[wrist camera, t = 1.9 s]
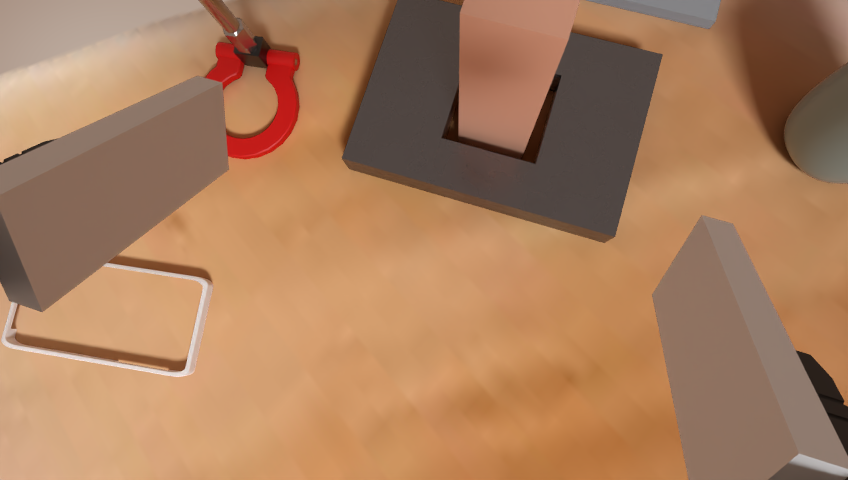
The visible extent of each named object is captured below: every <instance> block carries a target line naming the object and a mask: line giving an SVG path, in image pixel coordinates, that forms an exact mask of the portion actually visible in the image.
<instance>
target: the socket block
mask: <svg viewBox="0 0 848 480" xmlns="http://www.w3.org/2000/svg"><path fill="white" fill-rule="evenodd" d="M461 8H462V6H461V5H457V4H453V3H449V2H445V1H440V0H398V1H397V4H396V6H395V9H394V12H393V15H392V18H391V21H390V23H389V26H388V29H387V32H386V35H385V38H384V40H383V43H382V46H381V49H380V52H379V55H378V57H377V60H376V63H375V66H374V69H373V72H372V74H371V77H370V80H369V83H368V86H367V89H366V91H365V94H364V97H363V100H362V103H361V106H360V108H359V111H358V114H357V117H356V120H355V123H354V125H353V128H352V131H351V134H350V137H349V140H348V142H347V145H346V148H345V151H344V154H343V156H342V159H343V161H344V162H345V164H346V165H347V166H348V168H349V169H351V170H355V171H358V172H361V173H365V174H368V175H372V176H375V177H379V178H382V179H386V180H389V181H392V182H396V183H399V184H403V185H406V186H410V187H413V188H417V189H420V190H424V191H427V192H430V193H434V194H437V195H441V196H444V197H448V198H451V199H455V200H458V201H461V202H465V203H468V204H472V205H475V206H479V207H482V208H486V209H489V210H492V211H496V212H499V213H503V214H506V215H510V216H513V217H517V218H520V219H524V220H527V221H530V222H534V223H537V224H541V225H544V226H548V227H551V228H555V229H558V230H561V231H565V232H568V233H572V234H575V235H579V236H582V237H586V238H589V239H593V240H596V241H599V242H603V243H605V242H607V241H608V240H610V239H612V238H614V237H615V235H616V231H617V227H618V223H619V219H620V216H621V212H622V208H623V204H624V200H625V197H626V193H627V189H628V185H629V181H630V177H631V174H632V170H633V166H634V162H635V158H636V154H637V151H638V147H639V143H640V139H641V135H642V131H643V128H644V124H645V120H646V116H647V112H648V108H649V105H650V101H651V97H652V93H653V89H654V86H655V82H656V78H657V74H658V70H659V66H660V63H661V59H662V55H663V54H658V53H654V52H650V51H646V50H642V49H638V48H634V47H630V46H626V45H621V44H617V43H613V42H609V41H605V40H601V39H597V38H593V37H589V36H584V35H580V34H576V33H572V32H571V33H570V36H569V40H568V42H567V45H566V47H565V50H564V52H563V55H562V57H561V60H560V62H559V65H558V67H557V70H556V72H555V75H554V78H553V80H552V83H551V85H550V88H549V90H551V91H555V93H554V96H553V99H552V103H551V106H550V110H549V113H548V116H547V120H546V123H545V127H544V130H543V134H542V137H541V140H540V144H539V147H538V151H537V154H536V157H535V161H534V163H530V162H527V161H523V160H519V159H516V158H512V157H508V156H505V155H501V154H498V153H494V152H490V151H487V150H483V149H479V148H476V147H472V146H469V145H465V144H461V143H458V142H454V141H450V140H447V139H446V137H447V134H448V131H449V128H450V124H451V121H452V118H453V115H454V112H455V109H456V106H457V103H458V100H459V44H460V11H461Z"/></svg>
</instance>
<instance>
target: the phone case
mask: <svg viewBox="0 0 848 480" xmlns="http://www.w3.org/2000/svg"><path fill="white" fill-rule="evenodd" d="M103 266H106V267H113V268H119V269H126V270H132V271H139V272H145V273H152V274H158V275H164V276H171V277H177V278H184V279H190V280H195V281H197V282H199V283H201V284H202V286H203V291H202V295H201V300H200V304H199V309H198V313H197V318H196V322H195V327H194V331H193V336H192V340H191V345H190V349H189V354H188V358H187V363H186V367H185V369H184V370H183V371H175V370H162V369H156V368H151V367H145V366H139V365H133V364H127V363H122V362H118V361H117V360H111V359H105V358H99V357H94V356H88V355H82V354H76V353H70V352H65V351H59V350H53V349H47V348H41V347H36V346H30V345H24V344H21V343H19V342H18V341H17V340H16V339H15V334H16V331H17V329H11V326H12V322H13V319H14V315H15V312H16V308H17V303H14V302H12V303H11V307H10V311H9V314H8V318H7V321H6V325H5V328H4V332H3V335H2V339H1V341H2V343H3V344H4V345H5V346H7V347H9V348H12V349H18V350H24V351H30V352H35V353H41V354H47V355H53V356H58V357H64V358H70V359H76V360H81V361H87V362H93V363H99V364H104V365H110V366H116V367H122V368H127V369H133V370H139V371H145V372H150V373H156V374H162V375H168V376H173V377H181V376H186V375H190V374H192V373H193V372H194V371H195V367H196V362H197V358H198V353H199V349H200V344H201V340H202V335H203V331H204V326H205V322H206V317H207V313H208V308H209V303H210V299H211V294H212V290H213V283H212V282H211V281H210V280H208V279H206V278H202V277H196V276H190V275H183V274H177V273H170V272H164V271H157V270H151V269H144V268H138V267H131V266H125V265H118V264H112V263H106V264H105V265H103Z"/></svg>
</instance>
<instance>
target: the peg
mask: <svg viewBox="0 0 848 480" xmlns="http://www.w3.org/2000/svg"><path fill="white" fill-rule="evenodd" d="M579 2H580V0H464V2H463V5H462V8H461V11H460V44H459V134H458V142H461V143H465V144H468V145H472V146H476V147H479V148H483V149H487V150H490V151H494V152H497V153H501V154H505V155H508V156H512V157H516V158H519V159H521V158H522V156H523V153H524V151H525V148H526V146H527V143H528V141H529V138H530V136H531V133H532V131H533V128H534V125H535V123H536V120H537V118H538V115H539V113H540V110H541V108H542V105H543V103H544V100H545V98H546V95H547V93H548V90H549V88H550V85H551V83H552V80H553V78H554V75H555V72H556V70H557V67H558V65H559V62H560V60H561V57H562V55H563V52H564V50H565V47H566V45H567V42H568V40H569V36H570V33H571V29H572V26H573V23H574V19H575V16H576V12H577V9H578V6H579Z"/></svg>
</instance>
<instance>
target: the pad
mask: <svg viewBox="0 0 848 480" xmlns="http://www.w3.org/2000/svg"><path fill="white" fill-rule="evenodd" d="M587 1H592V2H596V3H600V4H604V5H609V6H613V7H617V8H621V9H626V10H630V11H634V12H638V13H643V14H647V15H651V16H656V17H660V18H664V19H668V20H673V21H677V22H681V23H685V24H690V25H694V26H698V27H702V28H707V29H709V28H710V27H711V26H712V25H713V24H714V23H715V21H716V18H717V14H718V10H719V6H720V2H721V0H587Z"/></svg>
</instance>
